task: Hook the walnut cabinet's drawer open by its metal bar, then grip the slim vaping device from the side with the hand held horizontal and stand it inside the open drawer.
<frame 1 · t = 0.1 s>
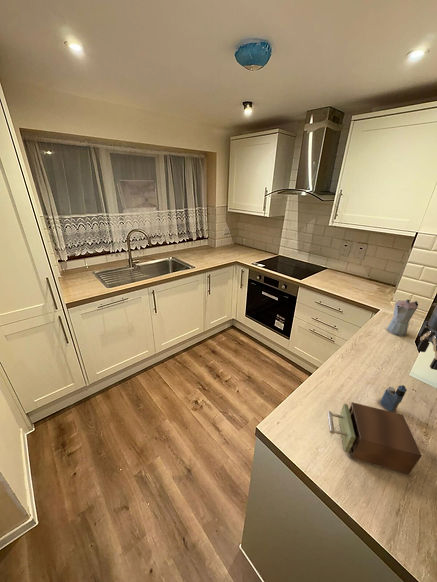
hand: (426, 359, 74), 24 cm above the worktop, tool pointing down, fingers open, 8 cm apart
cabinet: (373, 445, 73), on the worktop
vaping device: (387, 407, 86), on the worktop
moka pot: (396, 331, 131), on the worktop
drawer: (359, 430, 72), point 5 cm above the worktop, slide at 1.0 cm
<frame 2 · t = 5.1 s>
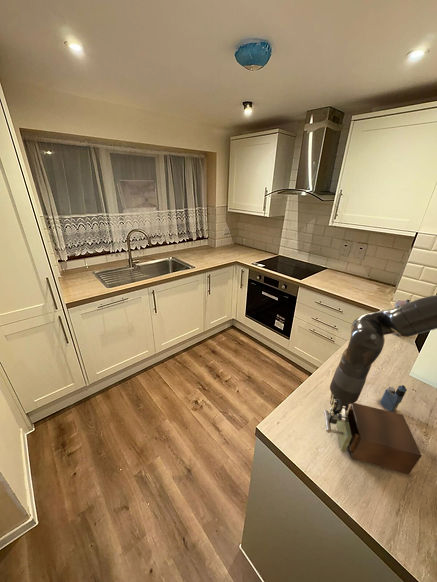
hand: (331, 421, 74), 6 cm above the worktop, tool pointing down, fingers closed
drawer: (356, 429, 73), point 5 cm above the worktop, slide at 2.0 cm, touching gripper
everything else where it was.
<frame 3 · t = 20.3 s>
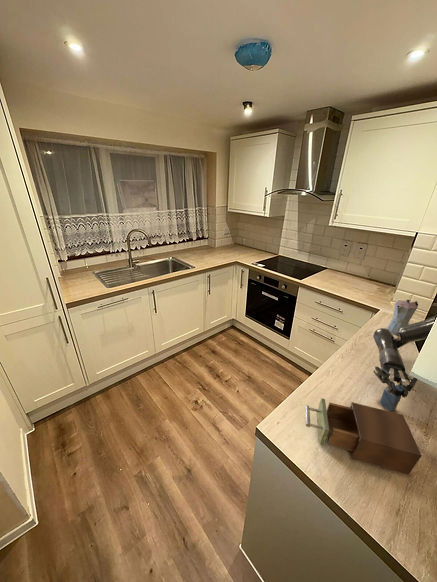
hand: (399, 393, 79), 10 cm above the worktop, tool horizontal, fingers closed on vaping device, 2 cm apart
vaping device: (387, 407, 86), on the worktop, touching gripper
drawer: (335, 424, 74), point 5 cm above the worktop, slide at 8.0 cm
everything else where it was.
when the fingers open (12 cm above the worktop, at t = 29.9 s): vaping device stays where it is, resting on drawer.
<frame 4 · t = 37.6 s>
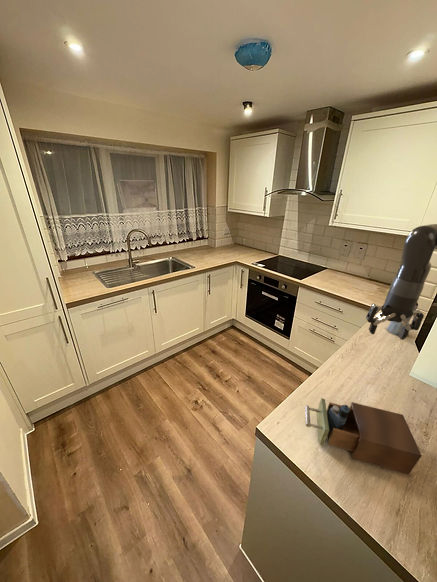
hand: (386, 335, 78), 28 cm above the worktop, tool pointing down, fingers open, 8 cm apart
vaping device: (332, 428, 76), point 2 cm above the worktop, touching drawer
drawer: (335, 424, 74), point 5 cm above the worktop, slide at 8.0 cm, touching vaping device
everything else where it was.
at the end: drawer slide at 8.0 cm; vaping device inside the target area in the drawer (1.3 cm from its centre), point 1.8 cm above the cabinet's base; the gripper is holding nothing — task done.
